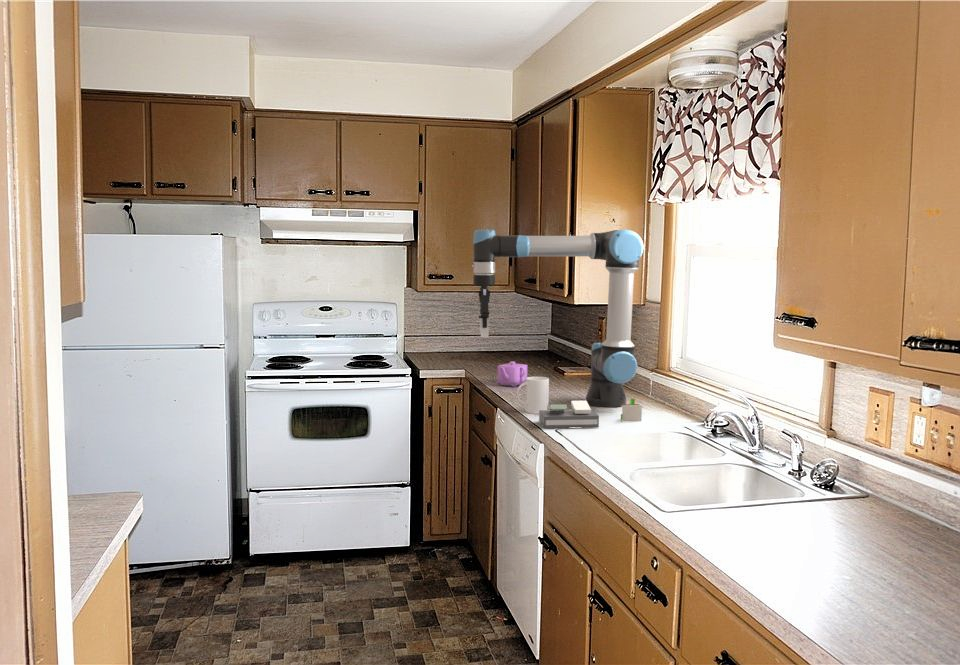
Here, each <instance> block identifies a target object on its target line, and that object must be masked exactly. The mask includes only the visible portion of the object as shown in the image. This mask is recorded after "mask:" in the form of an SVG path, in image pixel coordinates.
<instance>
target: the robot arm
mask: <svg viewBox="0 0 960 665" xmlns="http://www.w3.org/2000/svg"><path fill="white" fill-rule="evenodd" d="M472 244H473V245H472V247H473V248H472V250H473V264H472V265H471V268H473V274H474V275H473V277H472V278H473V286H475V287H479V290H478V299H479V300H478V301H479V303H480V310H479V311H480V312H479V313H480V315H478V319H479V327H480V328H479V333H480V338H489V336H490V335H489V334H490V333H489V332H490V328H489V326H490V325H489V322H490V316H489V315H490V311H489V304H490V296H491V291H490V290H489V288H488V287H493V286H495V285H496V275H495V274H496V258H519V259H520V258H525V257H526V258H527V257H588V258H590V259H591V260H601V261H605V266H604V267H605V269H606V270H607V271H608V273H609V277H608V280H609V281H608V296H607V317H606V319H607V320H606V338H605V340H604V341H603V342H594V343H592V344H591V350H590V353H591V356H590V357H591V359H590V360H591V362H590V371H591V372H590V385H589V387H588V390H587V392H586V396H585V401H587V403H588V405H589V406H595V407H603V408H604V407H606V408H608V407H609V408H612V407H614V408H615V407H617V408H618V407H622V406H621V404H627V396H626V392H625V388H624V385H623V384H624V383H625V384H626V383H628V382H629V381H631V380H632V379H633V378H634V377H635V375H636V374H637V371H638V362H637V359H636V358H635V344H634V343H633V341H632V340H631V339H632V338H631V336H632V320H633V319H632V318H633V300H634V299H633V298H634V281H635V273H636V272H637V271H638V270H639V268H640V259H641V257H642V255H643V252H644V242H643V240H642V237H641V236H640V235H639V234H638V233H637V232H635V231H634V230H630V229H627V228H626V229H625V228H624V229H615V230H609V231H604V232H591V233H590V234H589V235H522V234H519V235H514V234H513V235H511V234H510V235H500V234H499V235H497V234H496V231H495V229H476V230H475V231H474V232H473V241H472Z"/></svg>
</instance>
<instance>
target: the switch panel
mask: <svg viewBox="0 0 960 665" xmlns="http://www.w3.org/2000/svg"><path fill="white" fill-rule="evenodd" d="M538 415H539V416H538V422H539V424H540V426H541V427H542V428H543V429H544V430H553V429H555V428H558V429H570V428H569V427H599V428H600V426H599V425H600V416H599V414H597V413H596V412H595V411H594V410H593V409H591V414H575V413H574V410H573V409H563V410H539V414H538Z"/></svg>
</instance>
